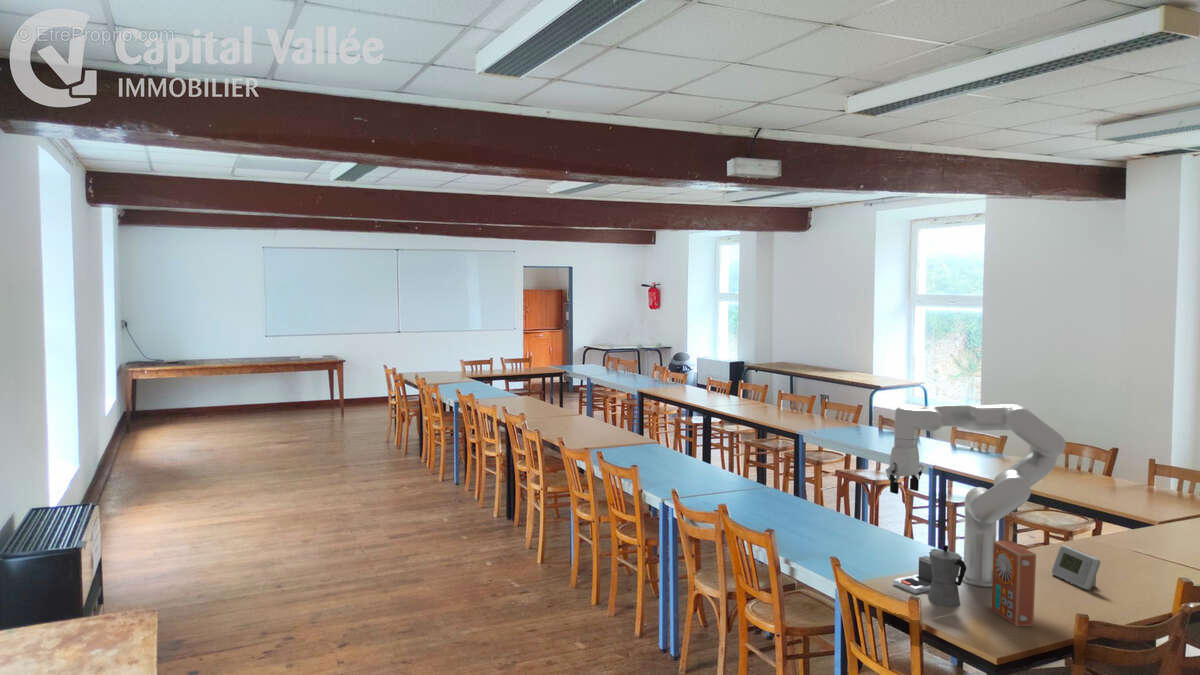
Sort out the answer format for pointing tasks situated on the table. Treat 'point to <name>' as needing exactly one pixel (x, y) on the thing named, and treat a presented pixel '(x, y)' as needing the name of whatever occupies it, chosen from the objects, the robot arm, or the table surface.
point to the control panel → (1013, 583)
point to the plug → (925, 569)
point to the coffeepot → (945, 576)
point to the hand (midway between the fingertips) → (904, 491)
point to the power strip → (912, 584)
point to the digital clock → (1076, 567)
